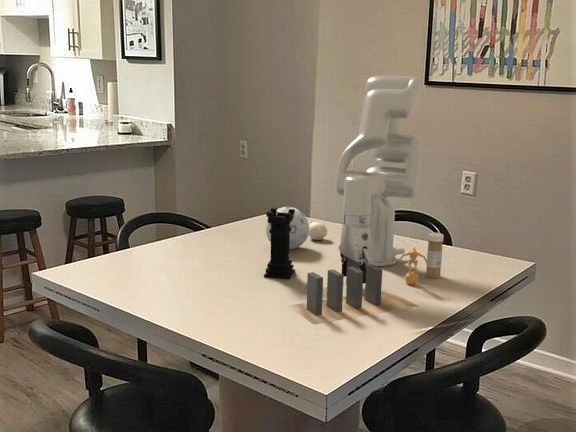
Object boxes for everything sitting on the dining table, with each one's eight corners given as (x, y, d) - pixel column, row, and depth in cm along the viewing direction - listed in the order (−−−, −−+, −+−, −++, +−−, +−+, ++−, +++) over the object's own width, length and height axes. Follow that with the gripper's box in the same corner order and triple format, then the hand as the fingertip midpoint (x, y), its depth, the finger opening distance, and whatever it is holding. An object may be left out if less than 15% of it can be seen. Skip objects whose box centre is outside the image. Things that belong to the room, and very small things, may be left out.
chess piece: (289, 279, 195) (291, 214, 190) (263, 277, 196) (264, 212, 192) (294, 271, 203) (296, 209, 198) (269, 269, 204) (270, 207, 200)
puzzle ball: (258, 251, 224) (258, 209, 221) (276, 241, 237) (276, 201, 234) (299, 257, 218) (300, 213, 215) (314, 246, 232) (316, 205, 228)
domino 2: (332, 305, 173) (333, 269, 171) (342, 311, 169) (343, 274, 167) (326, 306, 172) (327, 270, 170) (336, 312, 168) (337, 275, 166)
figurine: (425, 283, 193) (428, 244, 191) (426, 290, 188) (428, 250, 185) (397, 281, 195) (399, 243, 192) (396, 288, 189) (399, 248, 186)
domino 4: (351, 302, 176) (353, 266, 174) (361, 308, 171) (363, 271, 169) (345, 303, 175) (347, 267, 173) (355, 309, 171) (357, 272, 168)
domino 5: (370, 299, 178) (371, 264, 176) (380, 304, 174) (382, 269, 172) (364, 299, 178) (366, 264, 175) (374, 305, 173) (376, 270, 171)
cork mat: (388, 291, 186) (388, 289, 186) (418, 307, 174) (418, 305, 174) (288, 306, 172) (288, 305, 172) (313, 325, 160) (313, 324, 160)
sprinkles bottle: (435, 273, 204) (438, 231, 201) (443, 277, 200) (446, 235, 197) (422, 274, 202) (425, 232, 199) (430, 279, 198) (433, 236, 195)
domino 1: (312, 308, 171) (313, 272, 168) (321, 314, 166) (323, 277, 164) (306, 309, 170) (307, 272, 168) (315, 316, 165) (316, 278, 163)
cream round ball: (323, 243, 236) (323, 225, 235) (304, 240, 239) (305, 223, 238) (329, 239, 242) (330, 221, 241) (312, 236, 245) (312, 219, 244)
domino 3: (351, 285, 191) (352, 252, 189) (360, 290, 186) (362, 257, 184) (345, 286, 190) (347, 253, 188) (355, 291, 186) (356, 257, 183)
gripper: (384, 225, 178) (381, 287, 182) (351, 212, 193) (348, 269, 197) (361, 227, 174) (358, 290, 178) (329, 214, 190) (327, 272, 193)
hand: (353, 279), depth 188 cm, fingers open, 6 cm apart
